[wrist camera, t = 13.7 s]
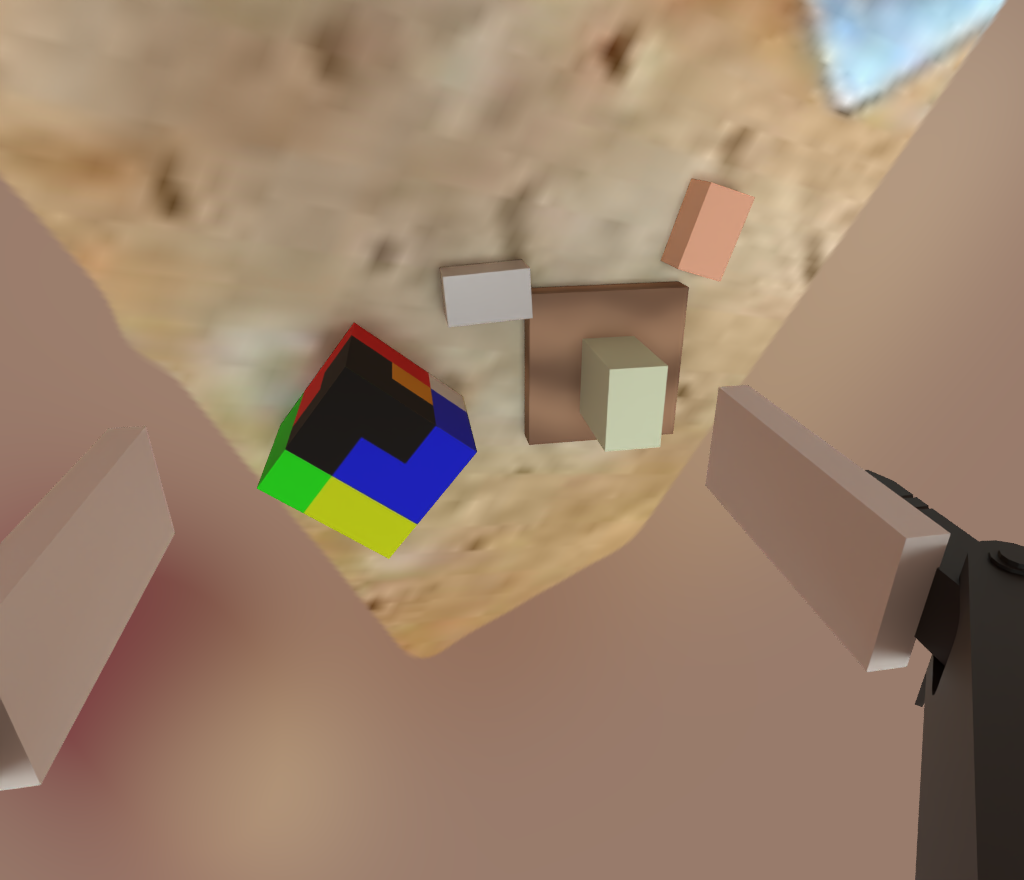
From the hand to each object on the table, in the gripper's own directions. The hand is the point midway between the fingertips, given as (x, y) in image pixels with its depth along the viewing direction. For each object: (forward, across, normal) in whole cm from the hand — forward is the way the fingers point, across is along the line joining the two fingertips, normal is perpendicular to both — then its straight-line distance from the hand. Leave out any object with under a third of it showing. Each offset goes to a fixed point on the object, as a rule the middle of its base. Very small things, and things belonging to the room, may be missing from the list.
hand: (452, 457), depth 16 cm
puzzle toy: (+35, -4, -13) cm, 38 cm away
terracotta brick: (+35, +21, 0) cm, 41 cm away
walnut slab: (+35, +14, -10) cm, 39 cm away
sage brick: (+33, +14, -10) cm, 37 cm away
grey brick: (+35, +5, -4) cm, 35 cm away
